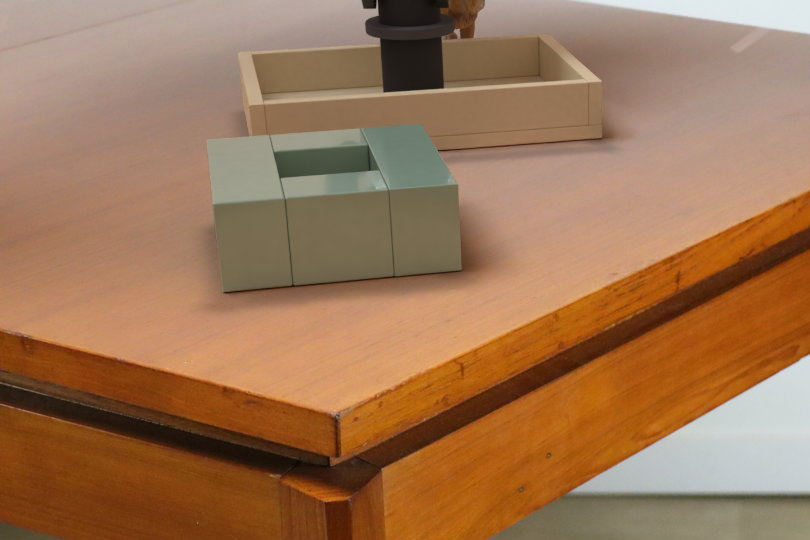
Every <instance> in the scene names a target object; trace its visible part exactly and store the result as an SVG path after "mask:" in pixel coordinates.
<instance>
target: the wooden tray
mask: <svg viewBox="0 0 810 540" xmlns="http://www.w3.org/2000/svg"><path fill="white" fill-rule="evenodd" d="M442 55H443V76H444V89H431V90H416V91H401V92H386V93H383V79H382V63H381V47H380V43H370V44H354V45H353V44H352V45H338V46H337V45H336V46H319V47H304V48H287V49H271V50H270V49H269V50H254V51H253V50H252V51H239V52H237V58H238V69H239V79H240V87H241V96H242V97H241V98H242V106H243V111H244V116H245V121H246V126H247V131H248V136H261V135H269V136H270V135H275V134H289V133H303V132H317V131H331V130H345V129H361V128H370V127H383V126H397V125H411V124H422V125H423V127H424V129H425V130H426V132H427V134H428V135H429V137H430V139H431V140H432V142H433V144H434V145H435V147H436V149H437V150H438V151H449V150H461V149H475V148H489V147H503V146H513V145H514V146H515V145H527V144H528V145H529V144H540V143H541V144H542V143H553V142H567V141H580V140H591V139H592V140H593V139H602V138H603V81H602V80H601V79H600V78H599V77H598V75H597V76H596V74H594V73H593V72H592V71H591V70H590V69H589V68H588V67H587V66H585V65H584V64H583V63H582V62H581V61H580V60H578V59H577V58H576V57H575V56H574V55H573V54H571V52H570V51H568V50H567V49H566V48H565V47H563V45H561V44H560V42H558V41H557V40H556V39H554V37H552V36H551V35H550V34H549V33H537V34H519V35H518V34H517V35H504V36H489V37H487V36H486V37H473V38H468V39H460V38H458V39H451V40H442Z"/></svg>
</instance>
